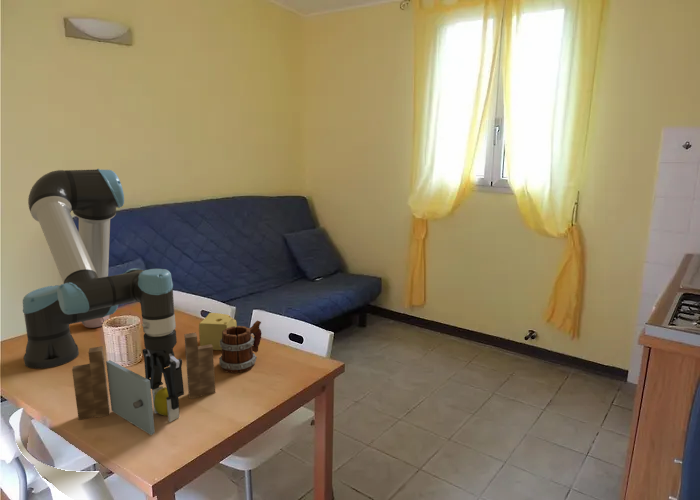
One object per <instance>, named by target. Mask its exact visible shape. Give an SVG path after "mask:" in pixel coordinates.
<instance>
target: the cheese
mask: <svg viewBox="0 0 700 500" xmlns="http://www.w3.org/2000/svg"><path fill="white" fill-rule="evenodd" d="M233 326H235V327H236V326H238V325H237V320H236V319H235V318H233V317H231V316H230V315H229V314H226V313H220V312H218V313H217V312H209V313H208V314H207V315H206V316H205V317H204V319H203V320H201V321H200V322H199V324H198V336H199V346H204V345H210V344H212V346H213V351H222V348H221V347H220V340H221V339H222V332H223V330H225V329H226V328H229V327H233Z"/></svg>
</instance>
